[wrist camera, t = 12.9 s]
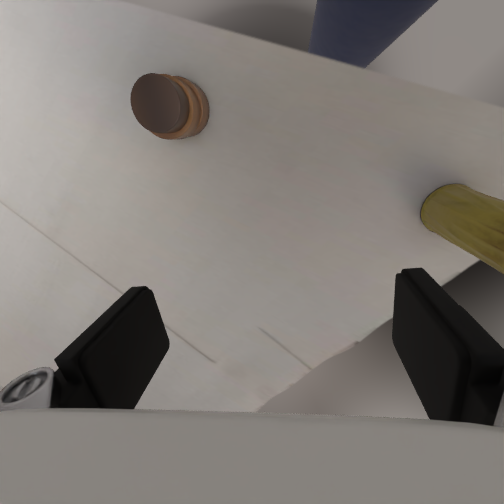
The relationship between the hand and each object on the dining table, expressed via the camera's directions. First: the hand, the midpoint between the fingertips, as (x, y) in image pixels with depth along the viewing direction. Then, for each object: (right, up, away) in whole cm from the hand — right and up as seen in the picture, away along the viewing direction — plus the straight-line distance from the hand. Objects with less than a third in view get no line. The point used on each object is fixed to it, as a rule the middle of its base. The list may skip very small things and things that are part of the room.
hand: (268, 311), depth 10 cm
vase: (+23, +8, +22) cm, 33 cm away
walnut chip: (-9, +17, +17) cm, 26 cm away
